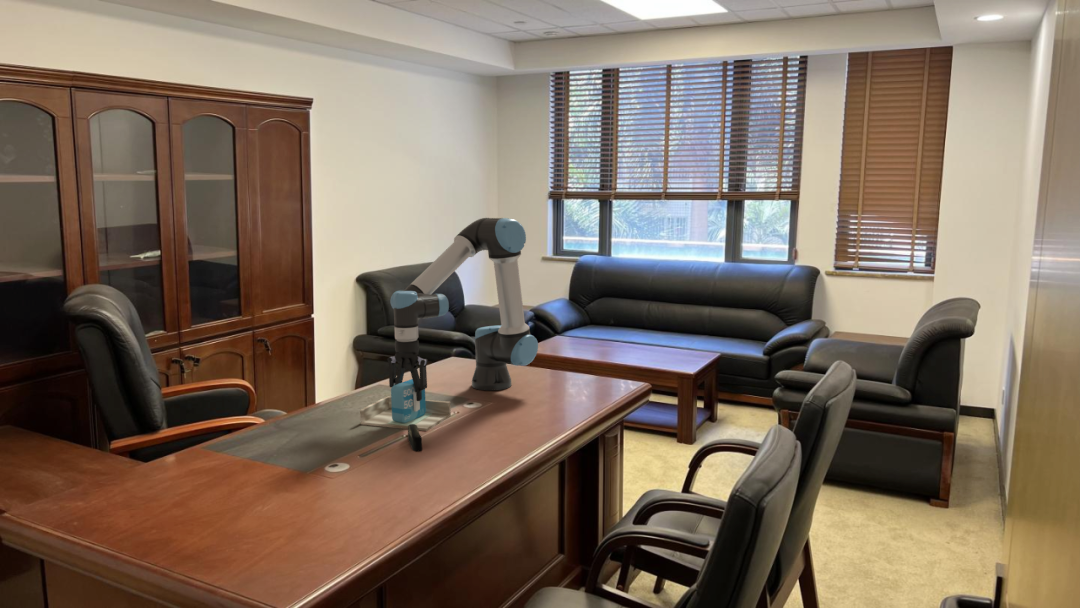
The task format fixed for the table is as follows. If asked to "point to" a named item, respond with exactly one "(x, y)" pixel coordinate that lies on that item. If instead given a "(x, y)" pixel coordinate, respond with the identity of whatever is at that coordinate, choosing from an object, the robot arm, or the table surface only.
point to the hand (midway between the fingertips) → (408, 409)
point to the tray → (382, 416)
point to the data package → (405, 402)
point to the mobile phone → (414, 437)
